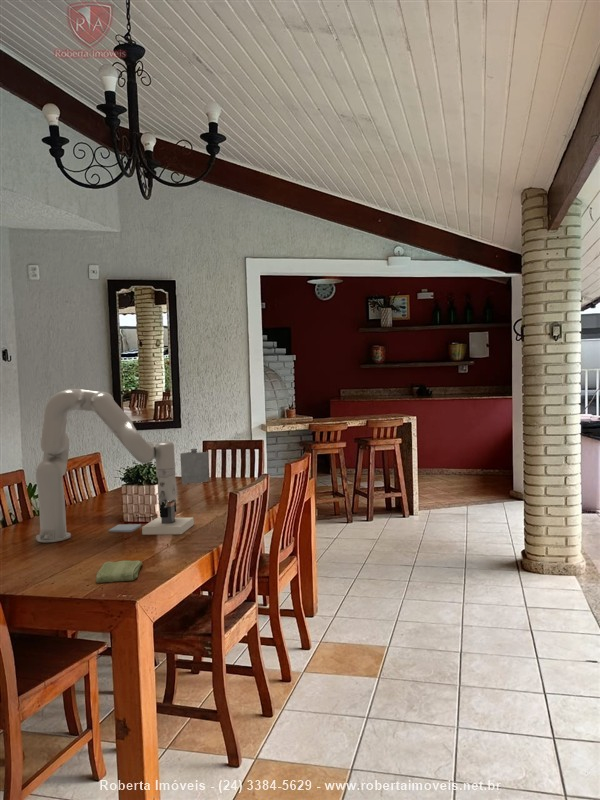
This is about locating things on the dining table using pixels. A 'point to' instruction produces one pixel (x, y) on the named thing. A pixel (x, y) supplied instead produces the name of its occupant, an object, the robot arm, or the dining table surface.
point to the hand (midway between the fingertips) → (168, 514)
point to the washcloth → (118, 571)
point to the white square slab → (167, 526)
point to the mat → (125, 528)
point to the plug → (169, 513)
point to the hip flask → (194, 467)
